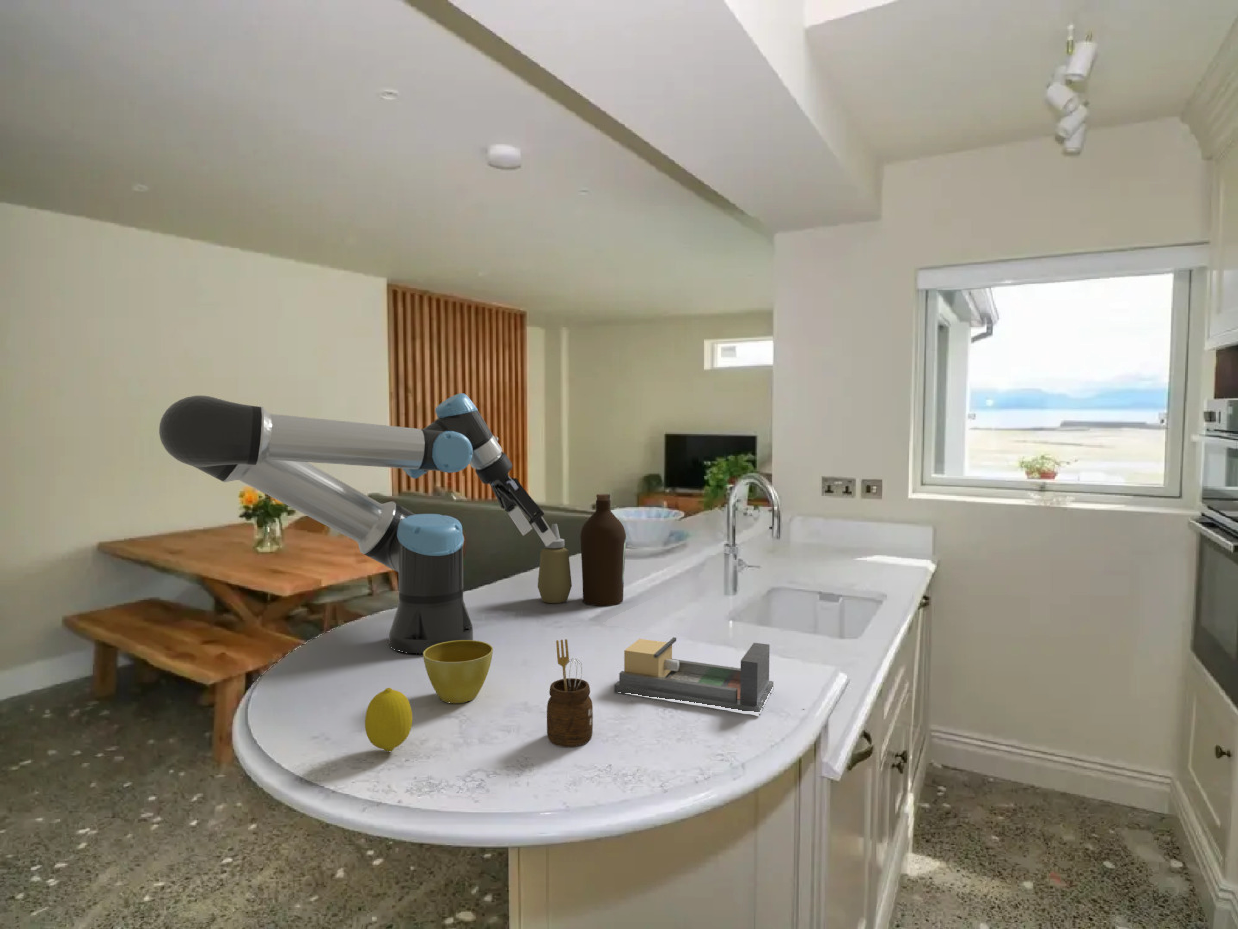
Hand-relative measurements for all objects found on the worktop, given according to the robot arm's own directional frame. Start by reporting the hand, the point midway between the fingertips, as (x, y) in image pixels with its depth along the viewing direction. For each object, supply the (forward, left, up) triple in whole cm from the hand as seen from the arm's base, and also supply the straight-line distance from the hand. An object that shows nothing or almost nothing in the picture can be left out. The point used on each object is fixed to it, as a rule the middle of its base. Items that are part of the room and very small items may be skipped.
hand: (539, 537), depth 154 cm
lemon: (-51, -50, -16) cm, 73 cm away
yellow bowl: (-37, -39, -16) cm, 56 cm away
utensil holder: (-31, -60, -16) cm, 70 cm away
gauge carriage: (-10, -53, -14) cm, 55 cm away
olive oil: (+14, -5, -16) cm, 22 cm away
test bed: (-7, -58, -16) cm, 61 cm away
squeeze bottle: (+5, +2, -16) cm, 17 cm away
